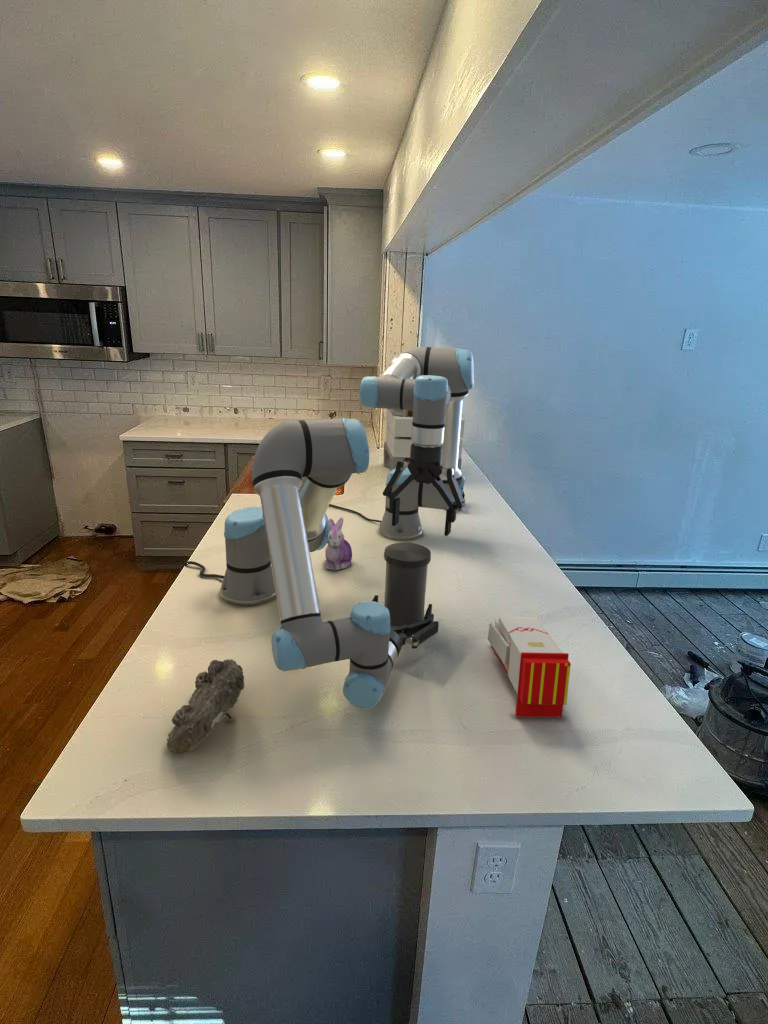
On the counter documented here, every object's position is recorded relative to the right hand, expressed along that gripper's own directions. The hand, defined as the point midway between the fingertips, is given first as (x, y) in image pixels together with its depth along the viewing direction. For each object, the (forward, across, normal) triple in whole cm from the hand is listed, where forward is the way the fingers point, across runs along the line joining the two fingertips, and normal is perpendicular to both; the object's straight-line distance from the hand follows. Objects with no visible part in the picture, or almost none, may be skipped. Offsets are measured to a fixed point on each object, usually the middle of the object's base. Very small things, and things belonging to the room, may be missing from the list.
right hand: (420, 529), depth 139 cm
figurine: (+24, +32, -18) cm, 43 cm away
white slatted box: (+23, +45, -128) cm, 138 cm away
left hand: (+18, +1, +6) cm, 19 cm away
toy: (+24, -30, +14) cm, 41 cm away
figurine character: (+23, +16, -89) cm, 93 cm away
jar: (+24, +2, +3) cm, 24 cm away
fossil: (+25, +21, +54) cm, 63 cm away
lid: (+6, +2, +3) cm, 7 cm away
